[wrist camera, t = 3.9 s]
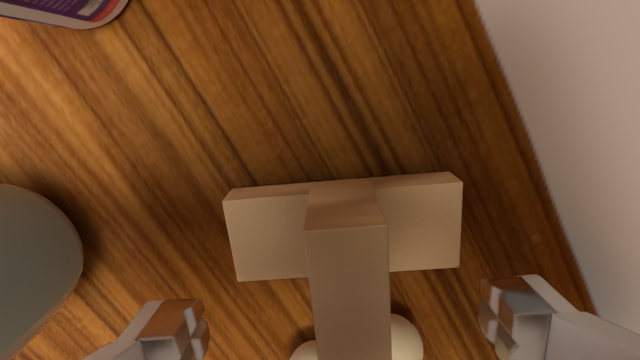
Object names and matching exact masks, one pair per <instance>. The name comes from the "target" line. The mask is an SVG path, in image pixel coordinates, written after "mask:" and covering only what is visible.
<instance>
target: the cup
mask: <svg viewBox="0 0 640 360" xmlns="http://www.w3.org/2000/svg"><path fill="white" fill-rule="evenodd" d="M83 266H84V251H83V246H82V242H81V239H80V237H79V234H78V232H77V230H76V228H75V227H74V225H73V224H72V222H71V221H70V219H69V218H68V217H67V216H66V215H65V214H64V212H63V211H62V210H61V209H59V208H58V207H57V206H56V205H55V204H54V203H53V202H51V201H50V200H48V199H46V198H45V197H43V196H42V195H40V194H38V193H36V192H33V191H31V190H29V189H26V188H23V187H18V186H13V185H8V184H3V183H0V360H12V359H13V358H14V357H16V356H17V355H18V354H19V353H20V352H21V351H22V350H23V349H24V348H25V347H26V346H27V345H28V344H29V343H30V342H31V341H32V340H33V339H34V338H35V337H36V336H37V335H38V334H39V333H40V332H41V331H42V329H43V328H44V327H45V326H46V325H47V324H48V323H49V322H50V321H51V320H52V319H53V317H54V316H55V315H56V314H57V313H58V312H59V310H60V309H61V308H62V306H63V305H64V304H65V302H66V301H67V300H68V298H69V297H70V295H71V294H72V292H73V291H74V289H75V287H76V286H77V284H78V282H79V280H80V276H81V273H82V270H83Z"/></svg>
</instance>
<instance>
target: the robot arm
mask: <svg viewBox="0 0 640 360" xmlns="http://www.w3.org/2000/svg"><path fill="white" fill-rule="evenodd" d="M479 293H480V294H481V296H482V297H483V299H482V300H481V301H480V302H479V304H478V310H477V315H478V320H479V325H480V328H481V330H482V332H483V334H484V336H485V337H486V339H487V340H488V341H490V342H491V343H493V344H495V345H496V347H495V354H496V355H497V357H498V358H499V360H640V335H639V334H637V333H635V332H632V331H630V330H628V329H626V328H623V327H621V326H619V325H616V324H614V323H612V322H609V321H607V320H604V319H602V318H600V317H597V316H595V315H593V314H590V313H588V312H579V311H578V310H577V309H576V308H575V307H574V306H573V305H571V304H570V303H569V302H568V301H567V300H566V299H565V298H564V297H563V296H562V295H561V294H559V293H558V292H557V291H556V290H555V289H554V288H553V287H552V286H551V285H550V284H549V283H547V282H546V281H545V280H544V279H543V278H542V277H541V276H539V275H536V274H531V275H520V276H516V277H503V278H490V279H481V281H480V283H479ZM204 310H205V309H204V306H203V302H202V300H201V299H199V298H194V299H172V300H156V301H149V302H147V303H145V304H144V306H143V307H142V308H141V309H140V311H139V312H138V313H137V314H136V316H135V317H134V318H133V320H132V321H131V322H130V323H129V325H128V326H127V327H126V328H125V330H124V331H123V332H122V334H121V335H120V336H119V337H118V339H117V340H116V341H115V342H110V343H108V344H106V345H104V346H103V347H101V348H99V349H98V350H96V351H95V352H93V353H91V354H90V355H88V356H87V357H85V358H83V359H82V360H202V359H203V358H204V357H205V354H206V352H207V349H208V344H209V338H210V336H209V326H208V322H207V321H205V320H204V319H203V318H202V315H203V313H204Z"/></svg>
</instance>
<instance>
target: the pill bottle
mask: <svg viewBox="0 0 640 360" xmlns="http://www.w3.org/2000/svg"><path fill="white" fill-rule="evenodd" d="M127 2H128V0H0V17H6V18H11V19H17V20H23V21H28V22H34V23H38V24H46V25H51V26H56V27H62V28H71V29H90V28H95V27H98V26H101V25H103V24H106V23H107V22H109V21H111V20H112V19H113V18H115V17H116V16H117V15H118V14H119V13H120V12H121V11H122V9H123V8H124V7H125V5H126V4H127Z"/></svg>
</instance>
